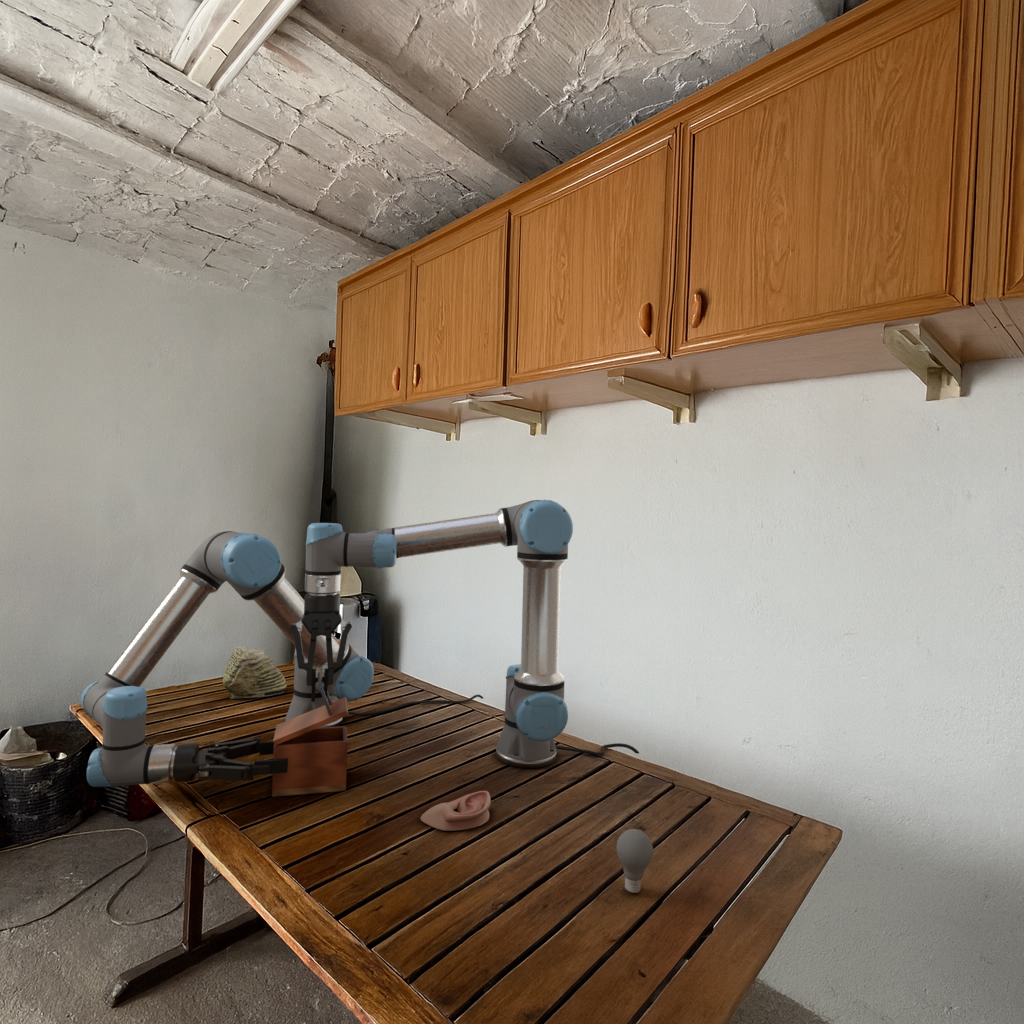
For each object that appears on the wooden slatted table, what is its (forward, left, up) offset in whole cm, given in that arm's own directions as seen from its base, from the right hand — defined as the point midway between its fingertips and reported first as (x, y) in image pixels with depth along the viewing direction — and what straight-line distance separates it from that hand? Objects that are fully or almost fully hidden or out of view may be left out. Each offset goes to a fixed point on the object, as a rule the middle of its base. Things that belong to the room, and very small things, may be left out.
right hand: (319, 699), depth 140 cm
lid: (+1, 0, -5) cm, 5 cm away
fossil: (+12, -68, -19) cm, 71 cm away
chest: (+1, 0, -19) cm, 19 cm away
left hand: (+6, -1, -12) cm, 13 cm away
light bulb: (-45, +56, -19) cm, 75 cm away
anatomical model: (-25, +24, -19) cm, 39 cm away
